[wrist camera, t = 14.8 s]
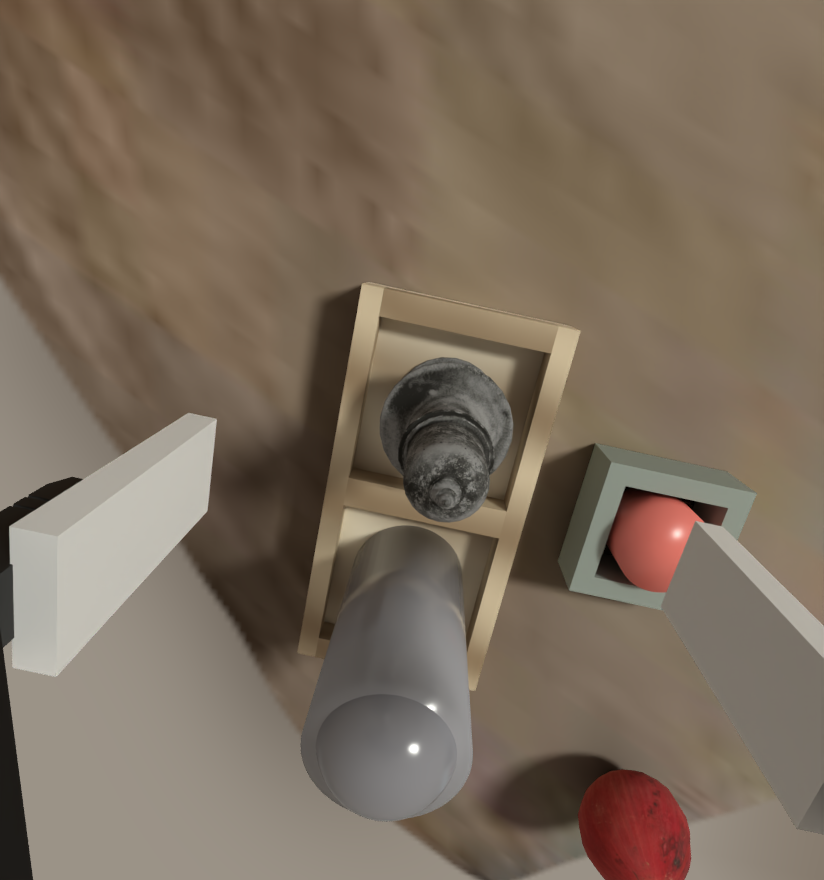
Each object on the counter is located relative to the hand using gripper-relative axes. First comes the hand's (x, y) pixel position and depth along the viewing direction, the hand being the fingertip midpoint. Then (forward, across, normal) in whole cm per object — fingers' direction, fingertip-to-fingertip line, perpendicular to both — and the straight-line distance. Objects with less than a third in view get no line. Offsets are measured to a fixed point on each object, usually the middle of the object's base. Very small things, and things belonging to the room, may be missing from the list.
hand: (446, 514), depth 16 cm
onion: (+14, -16, +22) cm, 30 cm away
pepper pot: (+13, 0, +10) cm, 17 cm away
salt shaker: (+14, 0, +1) cm, 14 cm away
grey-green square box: (+14, -12, +4) cm, 19 cm away
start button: (+14, -12, +4) cm, 18 cm away
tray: (+14, 0, +6) cm, 15 cm away
